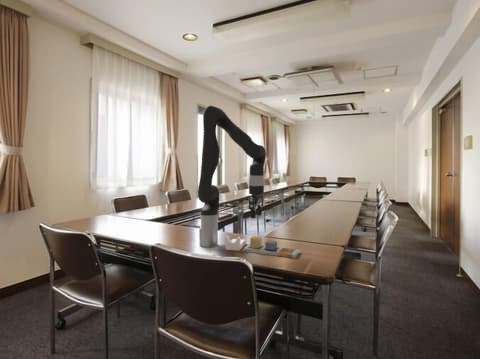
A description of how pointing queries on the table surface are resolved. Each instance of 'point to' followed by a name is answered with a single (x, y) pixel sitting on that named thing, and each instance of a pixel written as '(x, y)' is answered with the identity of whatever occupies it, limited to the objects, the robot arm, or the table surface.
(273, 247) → the brushed steel cube
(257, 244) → the yellow gold block
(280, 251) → the grey long flat tray
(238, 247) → the bracket
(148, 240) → the table surface
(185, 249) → the table surface
